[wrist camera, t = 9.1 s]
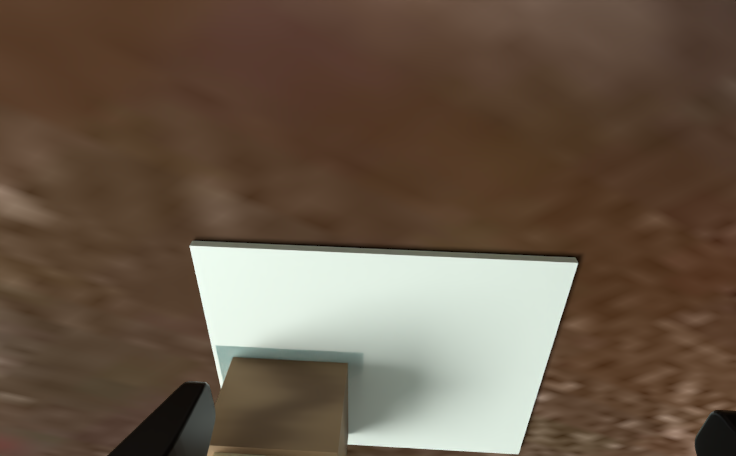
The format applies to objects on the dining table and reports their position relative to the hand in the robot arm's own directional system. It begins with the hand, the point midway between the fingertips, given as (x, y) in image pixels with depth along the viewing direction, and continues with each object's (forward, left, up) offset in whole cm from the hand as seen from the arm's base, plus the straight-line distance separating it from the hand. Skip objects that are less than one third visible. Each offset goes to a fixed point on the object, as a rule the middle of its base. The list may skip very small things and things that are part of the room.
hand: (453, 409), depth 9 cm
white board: (+1, +12, -12) cm, 17 cm away
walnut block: (+6, +15, -12) cm, 20 cm away
